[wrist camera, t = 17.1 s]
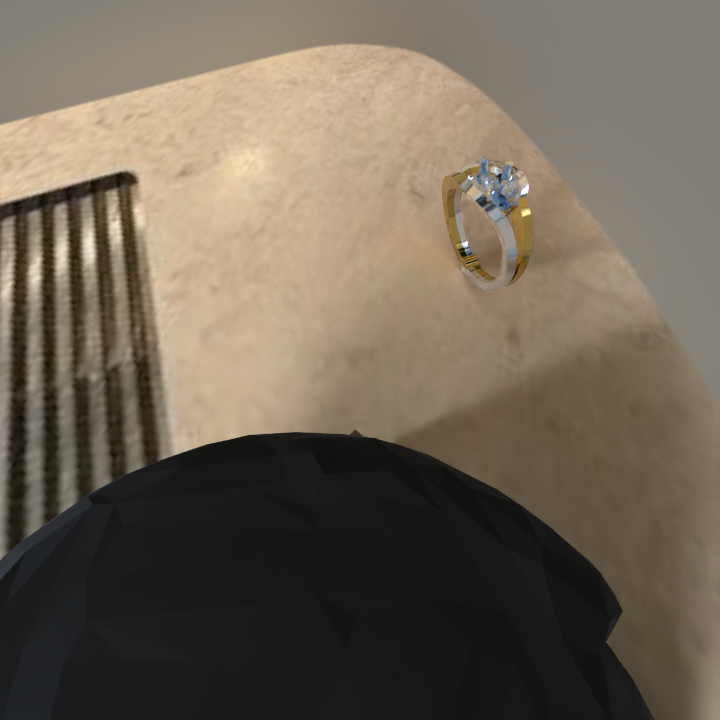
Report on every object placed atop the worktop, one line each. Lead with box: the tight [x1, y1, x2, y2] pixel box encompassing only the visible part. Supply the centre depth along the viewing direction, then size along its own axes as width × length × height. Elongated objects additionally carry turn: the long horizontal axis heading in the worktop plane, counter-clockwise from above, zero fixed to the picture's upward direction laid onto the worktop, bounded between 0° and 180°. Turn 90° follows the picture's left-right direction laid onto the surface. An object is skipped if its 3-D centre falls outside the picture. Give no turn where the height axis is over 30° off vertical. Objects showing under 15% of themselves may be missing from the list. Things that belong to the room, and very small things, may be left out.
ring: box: [442, 156, 533, 292], centre depth 26 cm, size 7×3×8 cm, turn 20°
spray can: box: [0, 432, 654, 720], centre depth 12 cm, size 7×7×20 cm
